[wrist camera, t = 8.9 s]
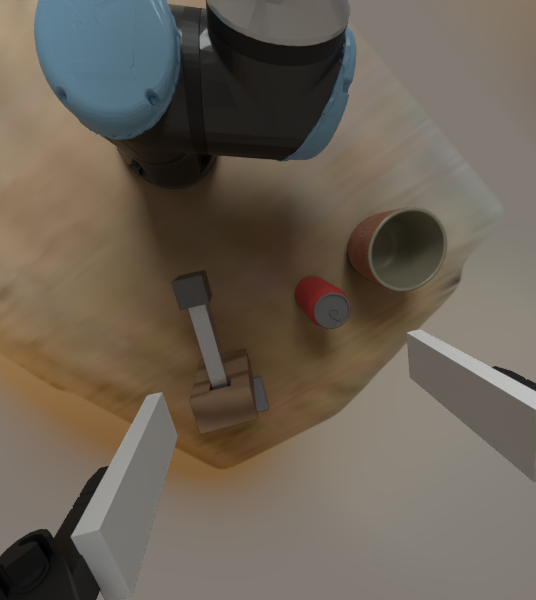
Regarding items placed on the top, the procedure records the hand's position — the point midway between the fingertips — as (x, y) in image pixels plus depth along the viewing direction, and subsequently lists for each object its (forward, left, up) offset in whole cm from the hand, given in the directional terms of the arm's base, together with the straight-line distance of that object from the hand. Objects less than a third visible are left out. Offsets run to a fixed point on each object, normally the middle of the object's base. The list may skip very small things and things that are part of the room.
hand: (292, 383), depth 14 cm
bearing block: (+17, -9, -37) cm, 41 cm away
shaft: (+8, -9, -29) cm, 32 cm away
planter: (0, +23, -37) cm, 44 cm away
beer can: (+6, +10, -37) cm, 39 cm away
